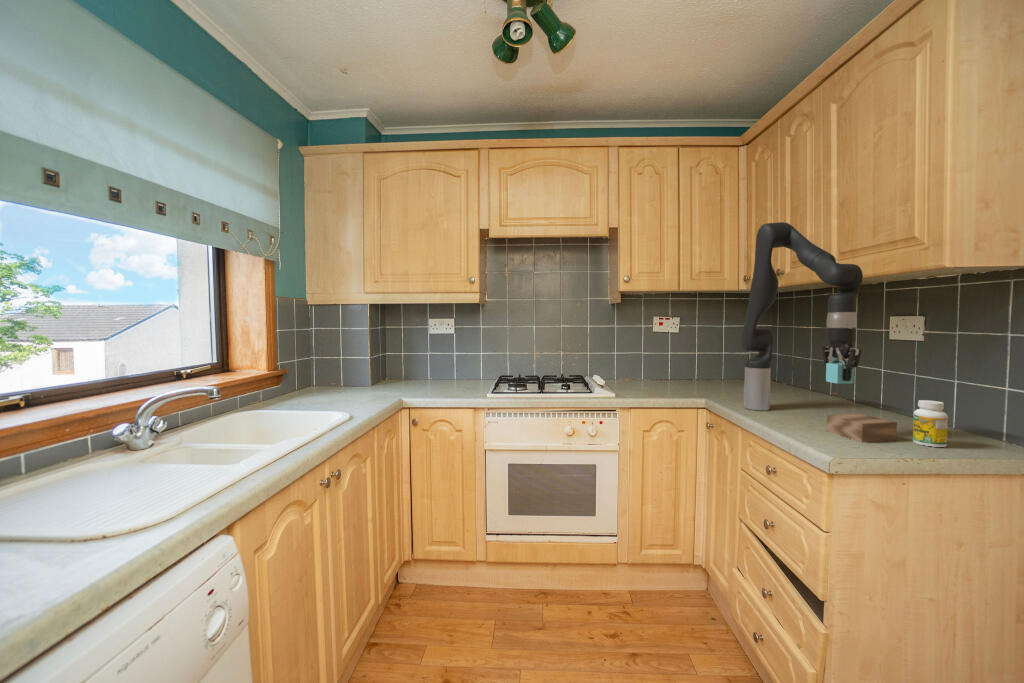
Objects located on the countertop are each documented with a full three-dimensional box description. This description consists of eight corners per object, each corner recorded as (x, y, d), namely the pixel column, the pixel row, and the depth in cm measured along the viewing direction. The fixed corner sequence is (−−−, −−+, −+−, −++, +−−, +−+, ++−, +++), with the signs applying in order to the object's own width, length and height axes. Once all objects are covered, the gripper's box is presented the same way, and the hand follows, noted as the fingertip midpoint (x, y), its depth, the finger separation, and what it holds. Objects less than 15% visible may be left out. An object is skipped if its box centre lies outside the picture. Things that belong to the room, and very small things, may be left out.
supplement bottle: (954, 448, 121) (956, 404, 120) (928, 448, 121) (931, 404, 120) (929, 440, 128) (931, 399, 127) (905, 441, 128) (907, 399, 127)
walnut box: (826, 433, 138) (827, 415, 138) (858, 431, 140) (859, 413, 140) (861, 443, 126) (862, 424, 126) (896, 441, 128) (896, 422, 128)
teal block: (825, 381, 137) (826, 363, 137) (841, 381, 137) (842, 363, 137) (837, 383, 132) (837, 364, 132) (853, 383, 132) (854, 364, 132)
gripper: (813, 326, 141) (812, 376, 142) (846, 326, 127) (845, 382, 127) (836, 326, 141) (835, 376, 141) (871, 326, 126) (870, 382, 127)
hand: (839, 379), depth 134 cm, fingers closed on teal block, 5 cm apart
